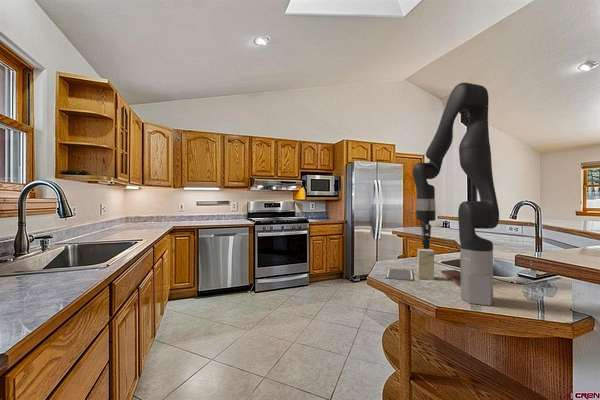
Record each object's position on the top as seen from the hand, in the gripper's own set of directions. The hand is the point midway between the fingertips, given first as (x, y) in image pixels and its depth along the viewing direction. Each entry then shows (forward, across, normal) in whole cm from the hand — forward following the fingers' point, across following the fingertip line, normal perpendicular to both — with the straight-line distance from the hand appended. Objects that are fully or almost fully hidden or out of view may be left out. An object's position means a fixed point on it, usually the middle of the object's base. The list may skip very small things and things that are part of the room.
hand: (425, 246), depth 118 cm
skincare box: (+14, 0, 0) cm, 14 cm away
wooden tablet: (+14, +4, -14) cm, 20 cm away
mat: (+13, +1, +11) cm, 17 cm away
